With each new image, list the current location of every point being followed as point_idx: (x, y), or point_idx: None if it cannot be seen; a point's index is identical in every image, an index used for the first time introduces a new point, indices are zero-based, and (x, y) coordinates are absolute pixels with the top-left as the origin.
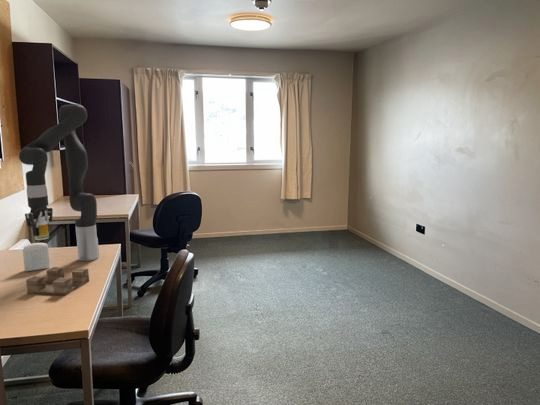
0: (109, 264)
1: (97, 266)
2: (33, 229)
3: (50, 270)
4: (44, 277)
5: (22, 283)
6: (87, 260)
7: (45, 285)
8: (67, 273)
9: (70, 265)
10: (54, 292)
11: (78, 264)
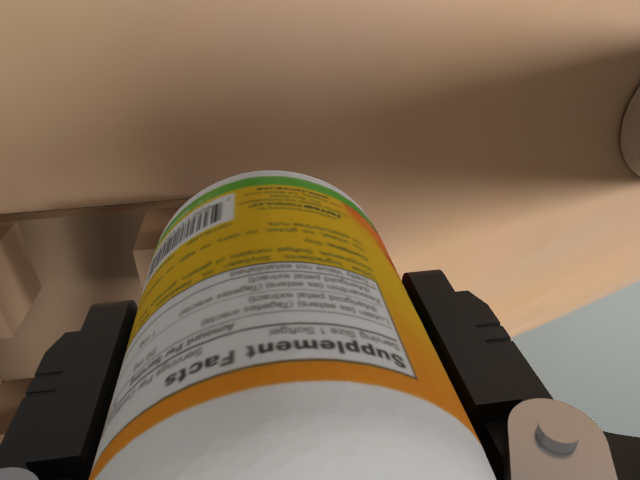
0: (536, 318)
1: (500, 279)
2: (10, 464)
3: (143, 278)
4: (14, 333)
5: (64, 12)
6: (623, 152)
7: (67, 263)
8: (351, 193)
9: (529, 86)
10: (3, 385)
11: (550, 132)
